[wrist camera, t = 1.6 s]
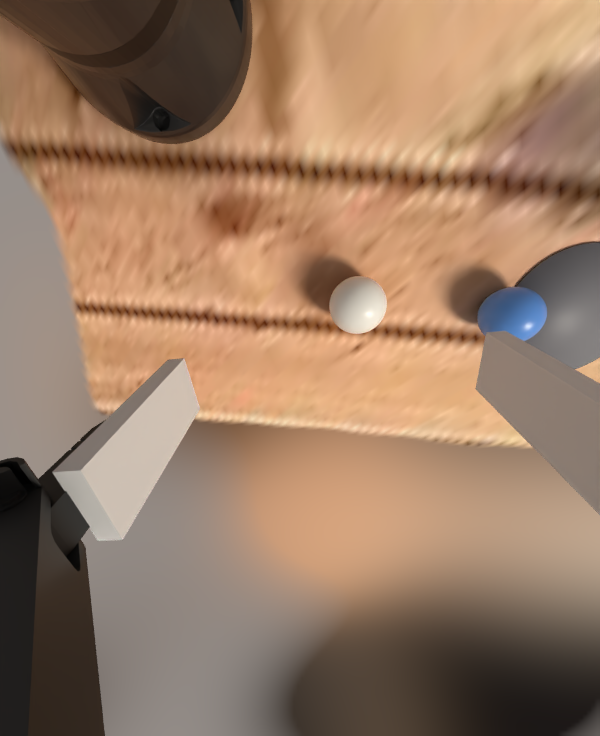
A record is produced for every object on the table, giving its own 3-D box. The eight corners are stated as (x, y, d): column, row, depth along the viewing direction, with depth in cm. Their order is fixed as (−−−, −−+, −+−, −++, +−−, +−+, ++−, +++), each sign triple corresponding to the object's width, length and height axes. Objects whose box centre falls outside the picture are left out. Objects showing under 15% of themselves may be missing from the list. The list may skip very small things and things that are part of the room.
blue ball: (456, 310, 31) (484, 326, 26) (502, 270, 29) (542, 279, 24) (486, 343, 32) (518, 363, 28) (532, 307, 31) (575, 321, 26)
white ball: (317, 301, 31) (318, 314, 26) (354, 260, 29) (363, 266, 24) (353, 334, 33) (360, 352, 28) (390, 297, 31) (406, 310, 26)
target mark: (473, 319, 31) (474, 319, 31) (605, 208, 27) (607, 208, 26) (541, 394, 35) (543, 395, 35) (668, 309, 30) (670, 309, 30)
